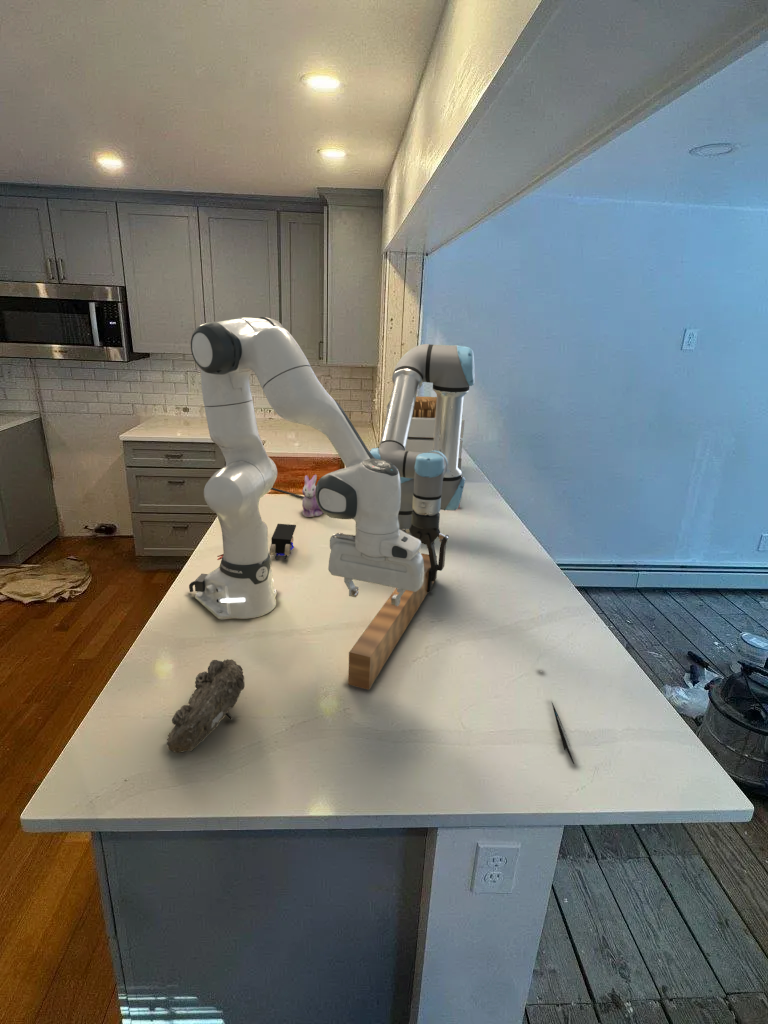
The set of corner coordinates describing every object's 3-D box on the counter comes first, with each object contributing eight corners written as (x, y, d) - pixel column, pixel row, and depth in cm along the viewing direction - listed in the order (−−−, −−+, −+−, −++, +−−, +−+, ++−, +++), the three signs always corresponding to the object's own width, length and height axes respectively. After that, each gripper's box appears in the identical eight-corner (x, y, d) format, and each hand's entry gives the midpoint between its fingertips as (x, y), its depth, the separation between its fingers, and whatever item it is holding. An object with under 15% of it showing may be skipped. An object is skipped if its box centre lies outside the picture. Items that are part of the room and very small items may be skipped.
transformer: (382, 463, 289) (386, 382, 275) (445, 464, 293) (451, 384, 279) (390, 482, 257) (394, 392, 243) (460, 483, 261) (468, 394, 247)
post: (419, 577, 168) (421, 553, 165) (435, 580, 167) (437, 556, 164) (348, 684, 119) (349, 652, 116) (368, 690, 118) (370, 657, 115)
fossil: (192, 660, 117) (244, 628, 112) (224, 691, 120) (276, 661, 115) (142, 746, 98) (202, 712, 93) (182, 779, 101) (242, 748, 96)
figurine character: (291, 566, 174) (297, 542, 188) (290, 545, 171) (296, 522, 184) (269, 566, 174) (276, 541, 187) (268, 544, 171) (275, 521, 184)
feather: (541, 676, 126) (546, 670, 126) (574, 768, 100) (581, 761, 99) (535, 672, 126) (540, 666, 126) (566, 764, 100) (573, 756, 99)
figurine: (305, 519, 209) (305, 480, 204) (296, 510, 217) (296, 472, 212) (329, 516, 213) (330, 478, 208) (319, 507, 222) (319, 470, 216)
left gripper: (323, 536, 115) (323, 597, 120) (420, 554, 109) (415, 617, 114) (336, 526, 121) (335, 584, 126) (428, 542, 115) (424, 602, 119)
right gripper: (390, 510, 152) (386, 588, 160) (455, 520, 146) (447, 600, 154) (399, 502, 158) (394, 577, 166) (461, 511, 153) (454, 589, 161)
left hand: (374, 600), depth 120 cm, fingers open, 8 cm apart
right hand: (420, 588), depth 160 cm, fingers closed on post, 5 cm apart
